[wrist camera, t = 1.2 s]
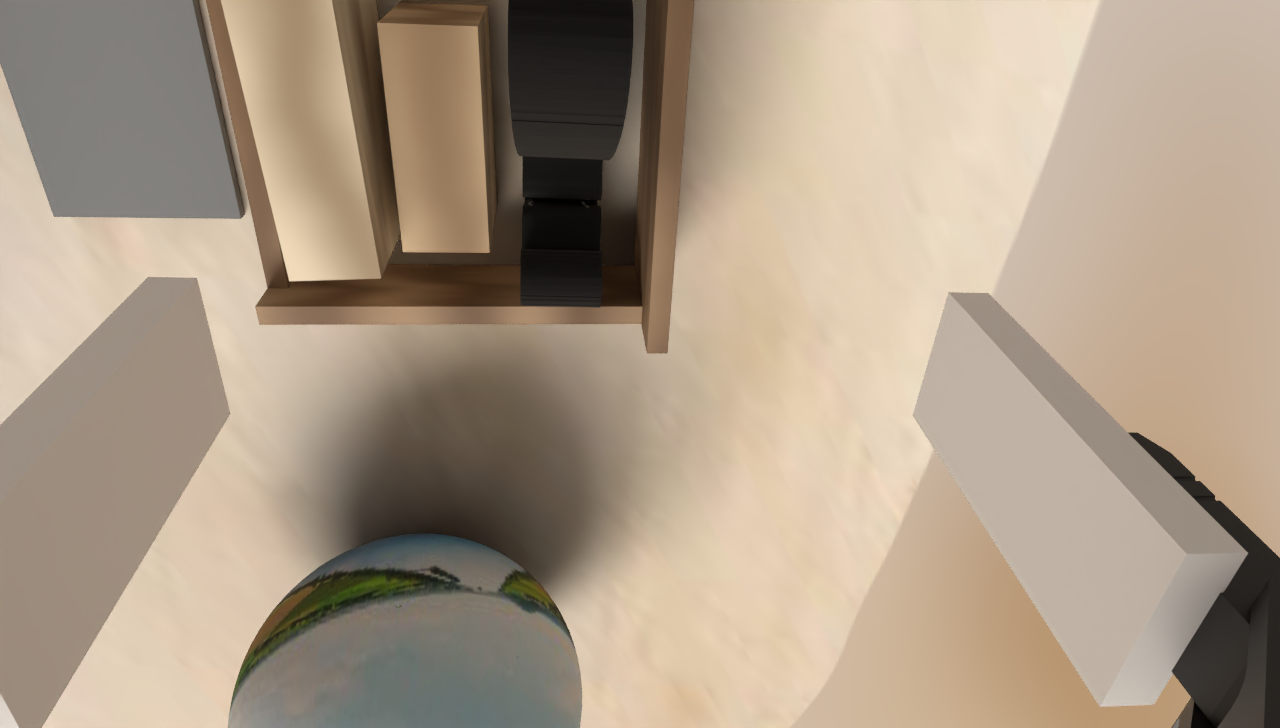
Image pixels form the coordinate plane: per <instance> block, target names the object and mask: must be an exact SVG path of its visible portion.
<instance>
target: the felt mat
mask: <svg viewBox="0 0 1280 728" xmlns="http://www.w3.org/2000/svg"><path fill="white" fill-rule="evenodd" d="M0 64H1V67H2V69H3V72H4V75H5V78H6V81H7V84H8V87H9V89H10V92H11V95H12V98H13V101H14V104H15V107H16V109H17V112H18V115H19V118H20V121H21V124H22V127H23V129H24V132H25V135H26V138H27V141H28V144H29V147H30V149H31V152H32V155H33V158H34V161H35V164H36V167H37V169H38V172H39V175H40V178H41V181H42V184H43V187H44V189H45V192H46V195H47V198H48V201H49V204H50V207H51V209H52V212H53V215H54V217H136V218H229V219H241V218H242V217H243V216H244V215H245V214H244V209H243V204H242V200H241V195H240V191H239V186H238V182H237V177H236V173H235V168H234V163H233V159H232V154H231V150H230V145H229V141H228V136H227V132H226V127H225V122H224V118H223V113H222V109H221V104H220V100H219V95H218V91H217V86H216V81H215V77H214V72H213V68H212V63H211V59H210V54H209V50H208V45H207V40H206V36H205V31H204V27H203V22H202V18H201V13H200V9H199V4H198V0H0Z"/></svg>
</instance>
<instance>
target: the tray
mask: <svg viewBox="0 0 1280 728" xmlns="http://www.w3.org/2000/svg"><path fill="white" fill-rule="evenodd" d="M206 3H207V8H208V12H209V17H210V22H211V26H212V31H213V36H214V40H215V45H216V50H217V54H218V59H219V64H220V68H221V73H222V78H223V82H224V87H225V92H226V96H227V101H228V106H229V110H230V115H231V120H232V124H233V129H234V134H235V138H236V143H237V148H238V152H239V157H240V162H241V166H242V171H243V175H244V180H245V185H246V189H247V194H248V199H249V203H250V208H251V213H252V217H253V222H254V227H255V231H256V236H257V241H258V245H259V250H260V255H261V259H262V264H263V269H264V273H265V278H266V283H267V287H268V289H267V290H266V292H265V293H264V295H263V296H262V298H261V299H260V301H259V302H258V304H257V305H256V306H255V307H256V311H257V316H258V320H259V325H287V324H642V329H643V335H644V340H645V345H646V350H647V353H667V352H668V339H669V326H670V312H671V299H672V286H673V273H674V259H675V246H676V233H677V219H678V206H679V193H680V180H681V166H682V153H683V140H684V127H685V113H686V100H687V87H688V74H689V60H690V47H691V34H692V21H693V7H694V0H647V4H646V25H645V47H644V68H643V89H642V110H641V131H640V152H639V174H638V195H637V216H636V237H635V258H634V266H604V265H602V297H601V307H600V308H594V307H549V306H521V298H520V270H521V265H415V264H387V266H386V268H385V271H384V273H383V275H382V278H381V279H350V280H318V281H289V278H288V274H287V270H286V266H285V262H284V258H283V254H282V250H281V245H280V241H279V237H278V233H277V229H276V225H275V221H274V217H273V213H272V208H271V204H270V200H269V196H268V192H267V188H266V184H265V180H264V176H263V172H262V167H261V163H260V159H259V155H258V151H257V147H256V143H255V139H254V135H253V131H252V126H251V122H250V118H249V114H248V110H247V106H246V102H245V98H244V94H243V89H242V85H241V81H240V77H239V73H238V69H237V65H236V61H235V57H234V53H233V48H232V44H231V40H230V36H229V32H228V28H227V24H226V20H225V16H224V11H223V7H222V3H221V0H206Z"/></svg>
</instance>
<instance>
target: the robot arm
mask: <svg viewBox="0 0 1280 728" xmlns="http://www.w3.org/2000/svg"><path fill="white" fill-rule="evenodd" d="M229 415H230V411H229V407H228V403H227V398H226V394H225V390H224V386H223V382H222V378H221V374H220V370H219V366H218V362H217V358H216V354H215V350H214V346H213V342H212V338H211V334H210V330H209V325H208V321H207V317H206V313H205V309H204V305H203V301H202V297H201V293H200V289H199V285H198V281H197V278H168V277H148V278H147V279H146V280H145V281H144V282H143V283H142V284H141V285H140V286H139V287H138V288H137V289H136V290H135V291H134V292H133V293H132V294H131V295H130V296H129V297H128V298H127V299H126V300H125V301H124V302H123V303H122V304H121V305H120V306H119V307H118V308H117V309H116V310H115V311H114V312H113V313H112V314H111V315H110V316H109V317H108V318H107V319H106V320H105V321H104V322H103V323H102V324H101V325H100V326H99V327H98V328H97V329H96V330H95V331H94V332H93V333H92V334H91V335H90V336H89V337H88V338H87V339H86V340H85V341H84V342H83V343H82V344H81V345H80V346H79V347H78V348H77V349H76V350H75V351H74V352H73V353H72V354H71V355H70V356H69V357H68V358H67V359H66V360H65V361H64V362H63V363H62V364H61V365H60V366H59V367H58V368H57V369H56V370H55V371H54V372H53V373H52V374H51V375H50V376H49V377H48V378H47V379H46V380H45V381H44V382H43V383H42V384H41V385H40V386H39V387H38V388H37V389H36V390H35V391H34V392H33V393H32V394H31V395H30V396H29V397H28V398H27V399H26V400H25V401H24V402H23V403H22V404H21V405H20V406H19V407H18V408H17V409H16V410H15V411H14V412H13V413H12V414H11V415H10V416H9V417H8V418H7V419H6V420H5V421H4V422H3V423H2V424H1V425H0V728H42V726H43V725H44V723H45V721H46V720H47V718H48V716H49V715H50V713H51V711H52V710H53V708H54V706H55V705H56V703H57V701H58V700H59V698H60V696H61V695H62V693H63V691H64V690H65V688H66V686H67V685H68V683H69V681H70V680H71V678H72V676H73V675H74V673H75V671H76V670H77V668H78V666H79V665H80V663H81V661H82V660H83V658H84V656H85V655H86V653H87V651H88V650H89V648H90V646H91V645H92V643H93V641H94V640H95V638H96V636H97V635H98V633H99V631H100V630H101V628H102V626H103V625H104V623H105V621H106V620H107V618H108V616H109V615H110V613H111V611H112V610H113V608H114V606H115V605H116V603H117V601H118V600H119V598H120V596H121V595H122V593H123V591H124V590H125V588H126V586H127V585H128V583H129V581H130V580H131V578H132V576H133V575H134V573H135V571H136V570H137V568H138V566H139V565H140V563H141V561H142V560H143V558H144V556H145V555H146V553H147V551H148V550H149V548H150V546H151V545H152V543H153V541H154V540H155V538H156V536H157V535H158V533H159V531H160V530H161V528H162V526H163V525H164V523H165V521H166V520H167V518H168V516H169V515H170V513H171V511H172V510H173V508H174V506H175V505H176V503H177V502H178V500H179V498H180V497H181V495H182V493H183V492H184V490H185V488H186V487H187V485H188V483H189V482H190V480H191V478H192V477H193V475H194V473H195V472H196V470H197V468H198V467H199V465H200V463H201V462H202V460H203V458H204V457H205V455H206V453H207V452H208V450H209V448H210V447H211V445H212V443H213V442H214V440H215V438H216V437H217V435H218V433H219V432H220V430H221V428H222V427H223V425H224V423H225V422H226V420H227V418H228V417H229ZM913 416H914V418H915V420H916V421H917V423H918V424H919V426H920V427H921V429H922V430H923V432H924V434H925V435H926V437H927V438H928V440H929V441H930V443H931V445H932V446H933V448H934V449H935V451H936V452H937V454H938V455H939V457H940V459H941V460H942V462H943V463H944V465H945V466H946V468H947V469H948V471H949V473H950V474H951V476H952V477H953V479H954V480H955V482H956V483H957V485H958V486H959V488H960V490H961V491H962V493H963V494H964V496H965V497H966V499H967V501H968V502H969V504H970V505H971V507H972V508H973V510H974V512H975V513H976V515H977V516H978V518H979V519H980V521H981V522H982V524H983V526H984V527H985V529H986V530H987V532H988V533H989V535H990V536H991V538H992V540H993V541H994V543H995V544H996V546H997V547H998V549H999V550H1000V552H1001V554H1002V555H1003V557H1004V558H1005V560H1006V561H1007V563H1008V565H1009V566H1010V568H1011V569H1012V571H1013V572H1014V574H1015V575H1016V577H1017V578H1018V580H1019V582H1020V583H1021V585H1022V586H1023V587H1024V589H1025V591H1026V593H1027V594H1028V595H1029V597H1030V599H1031V600H1032V602H1033V603H1034V605H1035V607H1036V608H1037V610H1038V611H1039V613H1040V614H1041V616H1042V617H1043V619H1044V621H1045V622H1046V624H1047V625H1048V627H1049V628H1050V630H1051V632H1052V633H1053V635H1054V636H1055V638H1056V639H1057V641H1058V642H1059V644H1060V646H1061V647H1062V649H1063V650H1064V652H1065V653H1066V655H1067V656H1068V658H1069V659H1070V661H1071V662H1072V664H1073V666H1074V667H1075V669H1076V670H1077V672H1078V674H1079V675H1080V677H1081V678H1082V680H1083V681H1084V683H1085V685H1086V686H1087V688H1088V689H1089V691H1090V692H1091V694H1092V695H1093V697H1094V698H1095V700H1096V701H1097V703H1098V704H1099V706H1100V707H1103V706H1131V705H1153V704H1154V703H1155V702H1156V700H1157V698H1158V697H1159V695H1160V694H1161V692H1162V690H1163V689H1164V687H1165V686H1166V684H1167V682H1168V681H1169V679H1170V678H1171V676H1172V674H1174V675H1175V676H1176V678H1177V679H1178V680H1179V682H1180V683H1181V684H1182V686H1183V687H1184V688H1185V689H1186V691H1187V692H1188V693H1189V695H1190V696H1191V699H1190V700H1189V702H1188V703H1187V705H1186V706H1185V708H1184V710H1183V711H1182V712H1181V714H1180V715H1179V717H1178V719H1177V720H1176V722H1175V723H1174V725H1173V726H1172V728H1280V558H1279V557H1278V556H1277V555H1276V554H1275V553H1274V552H1273V551H1272V550H1271V549H1270V548H1269V547H1268V546H1267V545H1266V544H1265V543H1264V542H1263V541H1262V540H1261V539H1260V538H1259V537H1257V536H1256V535H1255V534H1254V533H1253V532H1252V531H1251V530H1250V529H1249V528H1248V527H1247V526H1246V525H1245V524H1244V523H1243V522H1242V521H1241V520H1240V519H1239V518H1238V517H1237V516H1235V514H1234V513H1233V512H1231V511H1230V510H1229V509H1228V508H1227V507H1226V506H1225V505H1224V504H1223V503H1222V502H1221V501H1216V500H1215V495H1214V494H1213V493H1212V492H1210V490H1208V488H1207V487H1206V486H1205V485H1203V484H1202V483H1201V482H1200V481H1195V476H1194V475H1193V474H1192V473H1191V472H1190V471H1189V470H1188V469H1187V468H1186V467H1185V466H1184V465H1183V464H1182V463H1181V462H1180V461H1179V460H1177V459H1176V458H1175V457H1174V456H1173V455H1172V454H1171V453H1170V452H1168V451H1167V450H1165V449H1163V448H1162V447H1160V446H1158V445H1157V444H1155V443H1153V442H1152V441H1150V440H1149V439H1147V438H1145V437H1144V436H1142V435H1140V434H1139V433H1128V432H1126V431H1125V429H1123V427H1122V426H1120V425H1119V423H1118V422H1117V421H1115V420H1114V418H1113V417H1112V416H1111V415H1109V413H1108V412H1106V410H1105V409H1104V408H1102V407H1101V405H1100V404H1098V403H1097V402H1096V401H1095V400H1094V398H1092V397H1091V395H1089V393H1087V391H1086V390H1085V389H1083V388H1082V386H1080V384H1078V383H1077V382H1076V381H1075V380H1074V379H1073V378H1072V377H1071V376H1070V375H1069V374H1068V373H1067V372H1066V371H1065V370H1064V369H1063V368H1062V367H1061V366H1060V365H1059V364H1058V363H1057V362H1056V361H1055V360H1054V359H1053V358H1052V357H1051V356H1050V355H1049V354H1048V353H1047V352H1046V351H1045V350H1044V349H1043V348H1042V347H1041V346H1040V345H1039V344H1038V343H1037V342H1036V341H1035V340H1034V339H1033V338H1032V337H1031V336H1030V335H1029V334H1028V333H1027V332H1026V331H1025V330H1024V329H1023V328H1022V327H1021V326H1020V325H1019V324H1018V323H1017V322H1016V321H1015V320H1014V319H1013V318H1012V317H1011V316H1010V315H1009V314H1008V313H1007V312H1006V311H1005V310H1004V309H1003V308H1002V307H1001V306H1000V305H999V304H998V303H997V302H996V301H995V300H994V299H993V298H992V297H991V296H990V295H989V294H988V293H950V292H949V293H948V296H947V300H946V303H945V306H944V310H943V313H942V317H941V320H940V324H939V327H938V331H937V334H936V337H935V341H934V344H933V348H932V351H931V355H930V358H929V361H928V365H927V368H926V372H925V375H924V379H923V382H922V385H921V389H920V392H919V396H918V399H917V403H916V406H915V409H914V413H913Z"/></svg>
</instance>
